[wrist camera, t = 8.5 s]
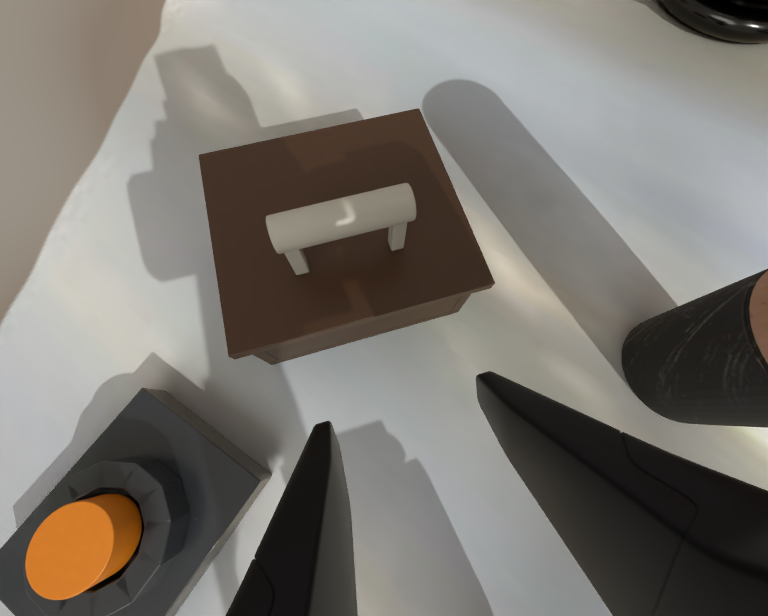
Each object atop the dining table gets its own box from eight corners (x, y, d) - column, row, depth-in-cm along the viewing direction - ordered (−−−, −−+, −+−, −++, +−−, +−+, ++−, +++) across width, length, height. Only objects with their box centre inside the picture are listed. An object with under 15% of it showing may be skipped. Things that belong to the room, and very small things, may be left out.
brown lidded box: (458, 311, 24) (485, 275, 18) (271, 365, 22) (232, 344, 16) (409, 184, 27) (417, 118, 21) (244, 223, 26) (204, 164, 20)
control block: (134, 672, 17) (66, 743, 13) (20, 558, 19) (-71, 593, 15) (272, 474, 20) (248, 486, 16) (164, 390, 22) (120, 383, 18)
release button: (99, 598, 15) (63, 621, 14) (47, 548, 16) (5, 563, 14) (158, 522, 16) (131, 534, 15) (106, 477, 17) (75, 483, 15)
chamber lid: (491, 288, 18) (531, 240, 13) (234, 359, 16) (176, 334, 12) (417, 117, 21) (428, 32, 17) (204, 163, 20) (151, 84, 15)
